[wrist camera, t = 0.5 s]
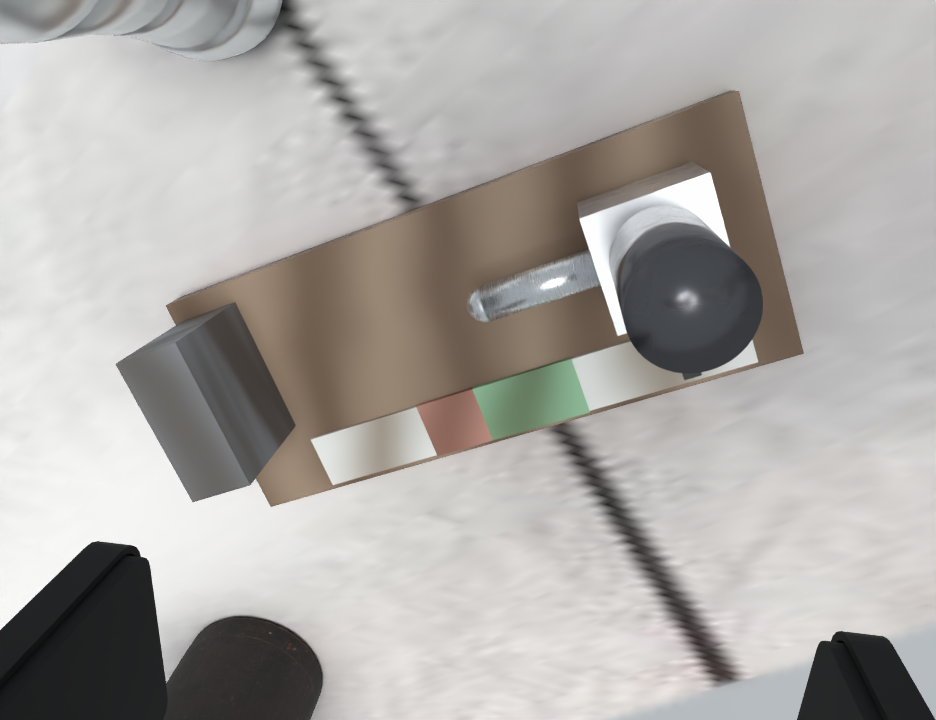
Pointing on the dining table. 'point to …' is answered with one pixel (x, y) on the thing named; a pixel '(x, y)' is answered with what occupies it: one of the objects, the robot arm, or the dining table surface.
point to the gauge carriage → (650, 273)
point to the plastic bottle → (146, 23)
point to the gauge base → (435, 326)
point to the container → (244, 675)
